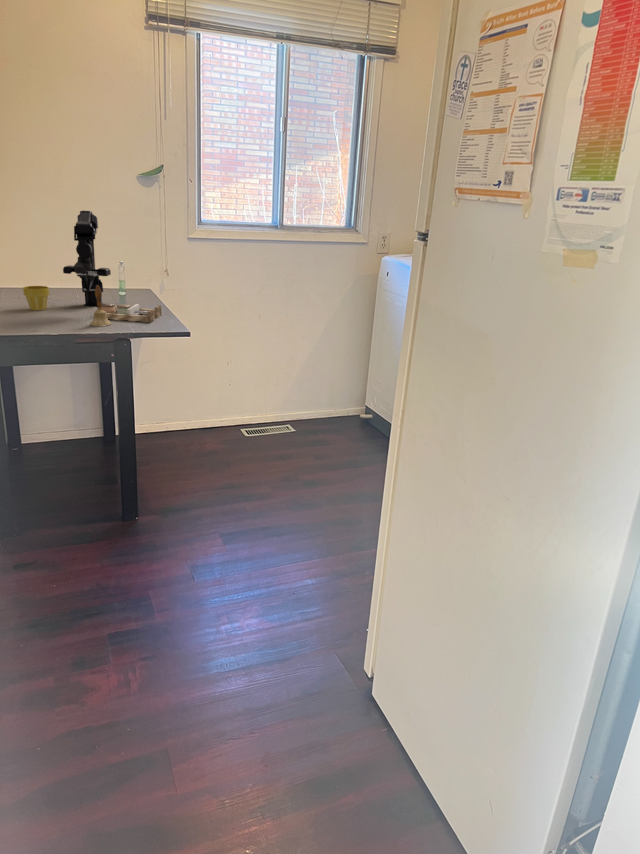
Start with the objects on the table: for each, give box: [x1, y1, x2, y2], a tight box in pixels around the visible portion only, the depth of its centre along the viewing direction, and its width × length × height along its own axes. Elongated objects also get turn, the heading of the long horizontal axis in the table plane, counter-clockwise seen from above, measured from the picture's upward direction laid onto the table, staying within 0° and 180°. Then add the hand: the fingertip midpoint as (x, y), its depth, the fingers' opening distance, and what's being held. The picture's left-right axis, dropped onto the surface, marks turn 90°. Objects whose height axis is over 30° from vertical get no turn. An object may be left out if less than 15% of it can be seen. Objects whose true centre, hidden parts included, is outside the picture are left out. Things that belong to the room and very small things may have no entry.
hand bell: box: [90, 285, 112, 327], centre depth 253 cm, size 8×8×16 cm
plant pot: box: [22, 285, 50, 311], centre depth 274 cm, size 10×10×10 cm
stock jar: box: [116, 303, 132, 315], centre depth 272 cm, size 6×6×5 cm
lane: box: [106, 304, 162, 323], centre depth 272 cm, size 21×16×5 cm
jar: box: [101, 302, 116, 314], centre depth 272 cm, size 6×6×5 cm
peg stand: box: [127, 303, 148, 315], centre depth 272 cm, size 7×13×4 cm, turn 178°
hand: (88, 291), depth 269 cm, fingers closed
